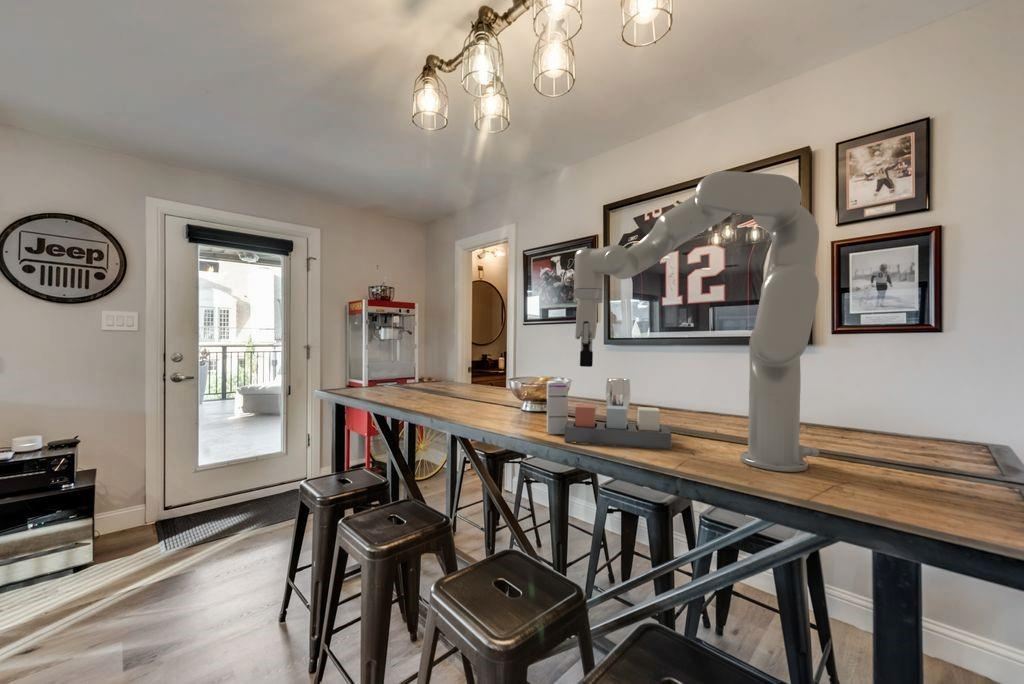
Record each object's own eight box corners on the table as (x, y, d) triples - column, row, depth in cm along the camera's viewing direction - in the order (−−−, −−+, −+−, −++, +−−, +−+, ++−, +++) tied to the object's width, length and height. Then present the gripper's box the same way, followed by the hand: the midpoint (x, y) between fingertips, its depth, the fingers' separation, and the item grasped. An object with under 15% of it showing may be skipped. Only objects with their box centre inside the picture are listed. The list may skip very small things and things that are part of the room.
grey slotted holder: (567, 434, 119) (568, 420, 119) (666, 441, 113) (666, 426, 113) (564, 442, 110) (564, 427, 110) (671, 449, 104) (671, 433, 104)
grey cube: (606, 424, 115) (606, 405, 115) (625, 425, 113) (626, 406, 113) (606, 427, 110) (606, 408, 110) (626, 429, 109) (626, 409, 108)
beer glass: (632, 433, 122) (633, 380, 122) (607, 432, 122) (608, 380, 122) (626, 427, 129) (627, 378, 129) (603, 427, 129) (604, 378, 129)
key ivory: (637, 425, 113) (637, 406, 113) (657, 427, 112) (657, 407, 112) (638, 429, 108) (639, 410, 108) (659, 431, 107) (659, 411, 107)
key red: (576, 422, 116) (576, 404, 116) (595, 423, 115) (595, 404, 115) (575, 426, 111) (575, 406, 111) (594, 427, 110) (594, 407, 110)
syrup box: (568, 434, 119) (569, 382, 119) (547, 434, 119) (547, 382, 119) (566, 430, 125) (566, 380, 124) (545, 430, 125) (546, 380, 125)
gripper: (575, 299, 121) (574, 364, 121) (571, 294, 106) (569, 367, 107) (603, 299, 119) (601, 365, 119) (602, 294, 105) (599, 369, 105)
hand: (586, 366), depth 113 cm, fingers closed
